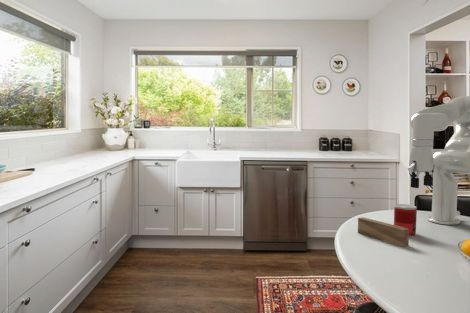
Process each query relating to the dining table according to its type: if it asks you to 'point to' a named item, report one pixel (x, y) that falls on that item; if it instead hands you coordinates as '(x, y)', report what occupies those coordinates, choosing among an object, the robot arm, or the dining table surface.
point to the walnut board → (383, 231)
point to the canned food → (405, 217)
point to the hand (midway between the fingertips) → (421, 186)
